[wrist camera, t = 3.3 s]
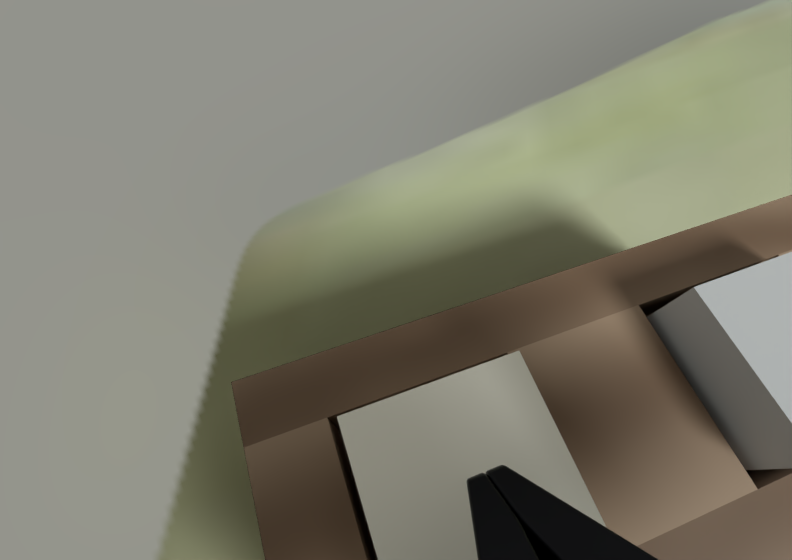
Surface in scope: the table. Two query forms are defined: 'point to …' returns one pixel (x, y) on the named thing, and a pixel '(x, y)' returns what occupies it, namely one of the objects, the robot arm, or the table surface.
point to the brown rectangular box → (563, 395)
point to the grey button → (739, 357)
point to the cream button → (453, 457)
